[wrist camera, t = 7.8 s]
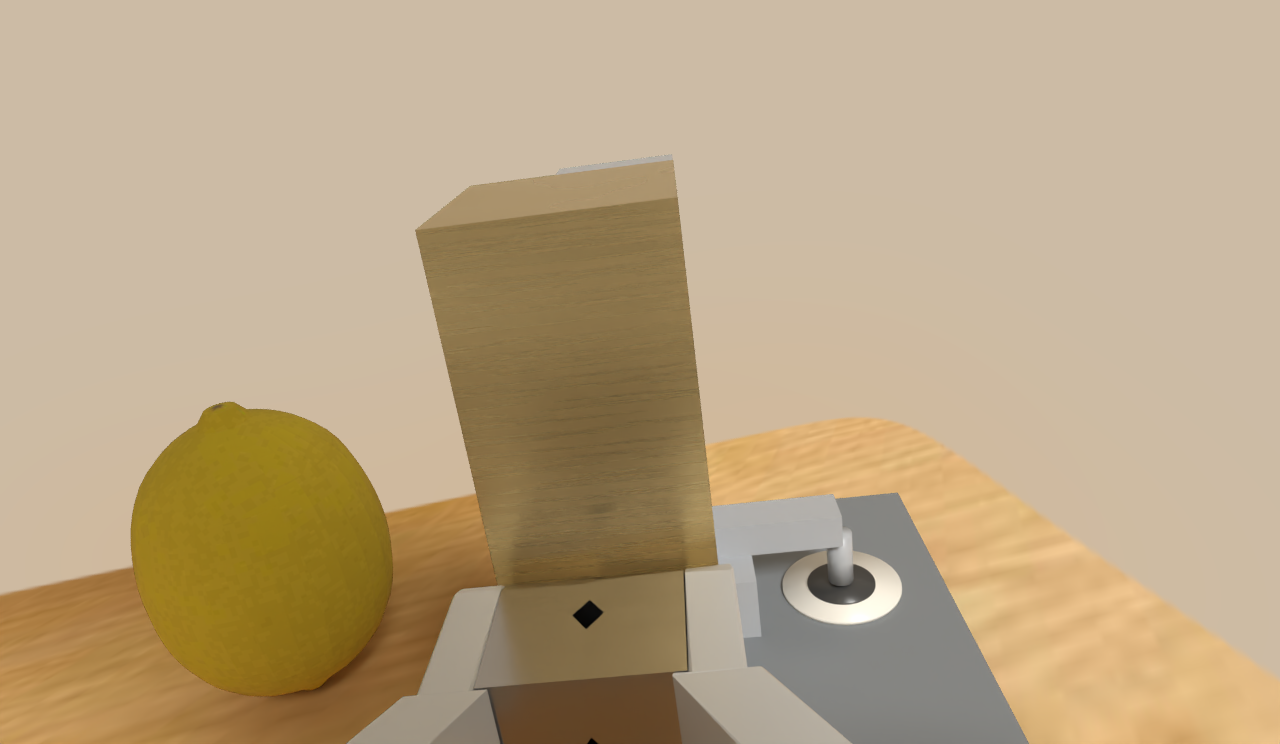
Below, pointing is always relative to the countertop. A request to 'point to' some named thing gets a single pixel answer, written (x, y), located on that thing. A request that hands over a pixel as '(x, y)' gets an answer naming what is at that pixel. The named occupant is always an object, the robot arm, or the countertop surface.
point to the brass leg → (575, 372)
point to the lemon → (260, 551)
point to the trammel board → (856, 615)
